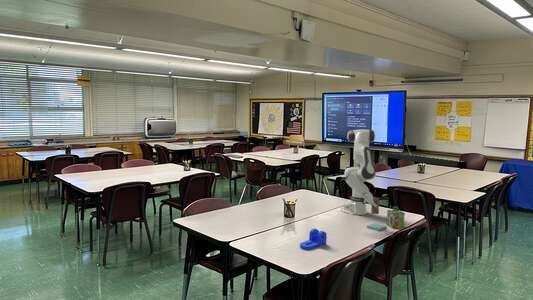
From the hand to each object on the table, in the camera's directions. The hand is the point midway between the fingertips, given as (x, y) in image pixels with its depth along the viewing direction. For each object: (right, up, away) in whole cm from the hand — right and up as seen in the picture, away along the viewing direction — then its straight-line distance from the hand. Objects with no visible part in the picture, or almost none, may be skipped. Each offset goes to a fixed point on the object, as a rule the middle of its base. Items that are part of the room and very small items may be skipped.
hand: (376, 205), depth 256 cm
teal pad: (+1, -17, +2) cm, 17 cm away
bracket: (-52, -20, -36) cm, 66 cm away
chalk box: (+16, -17, +6) cm, 24 cm away
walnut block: (-1, -6, +1) cm, 6 cm away
